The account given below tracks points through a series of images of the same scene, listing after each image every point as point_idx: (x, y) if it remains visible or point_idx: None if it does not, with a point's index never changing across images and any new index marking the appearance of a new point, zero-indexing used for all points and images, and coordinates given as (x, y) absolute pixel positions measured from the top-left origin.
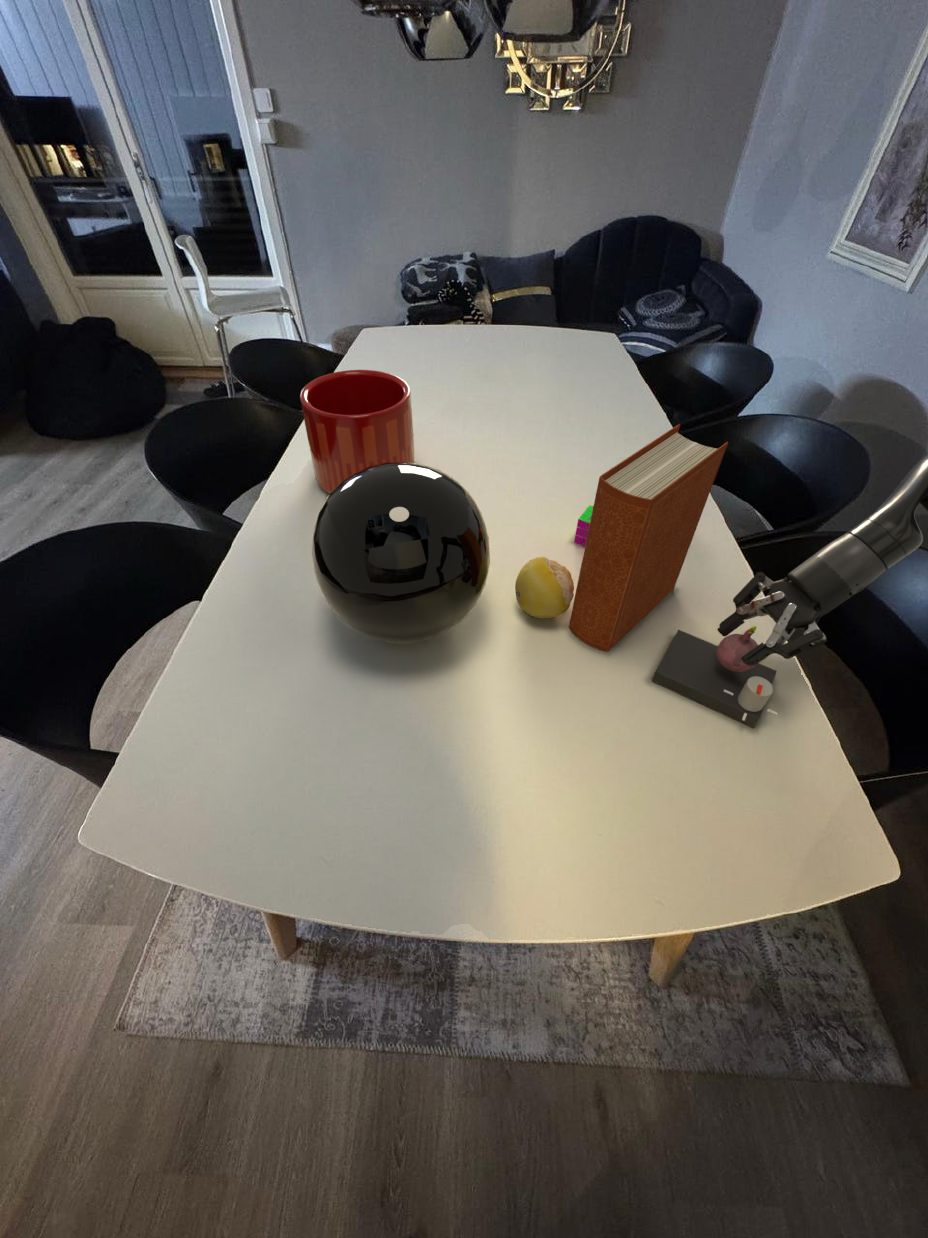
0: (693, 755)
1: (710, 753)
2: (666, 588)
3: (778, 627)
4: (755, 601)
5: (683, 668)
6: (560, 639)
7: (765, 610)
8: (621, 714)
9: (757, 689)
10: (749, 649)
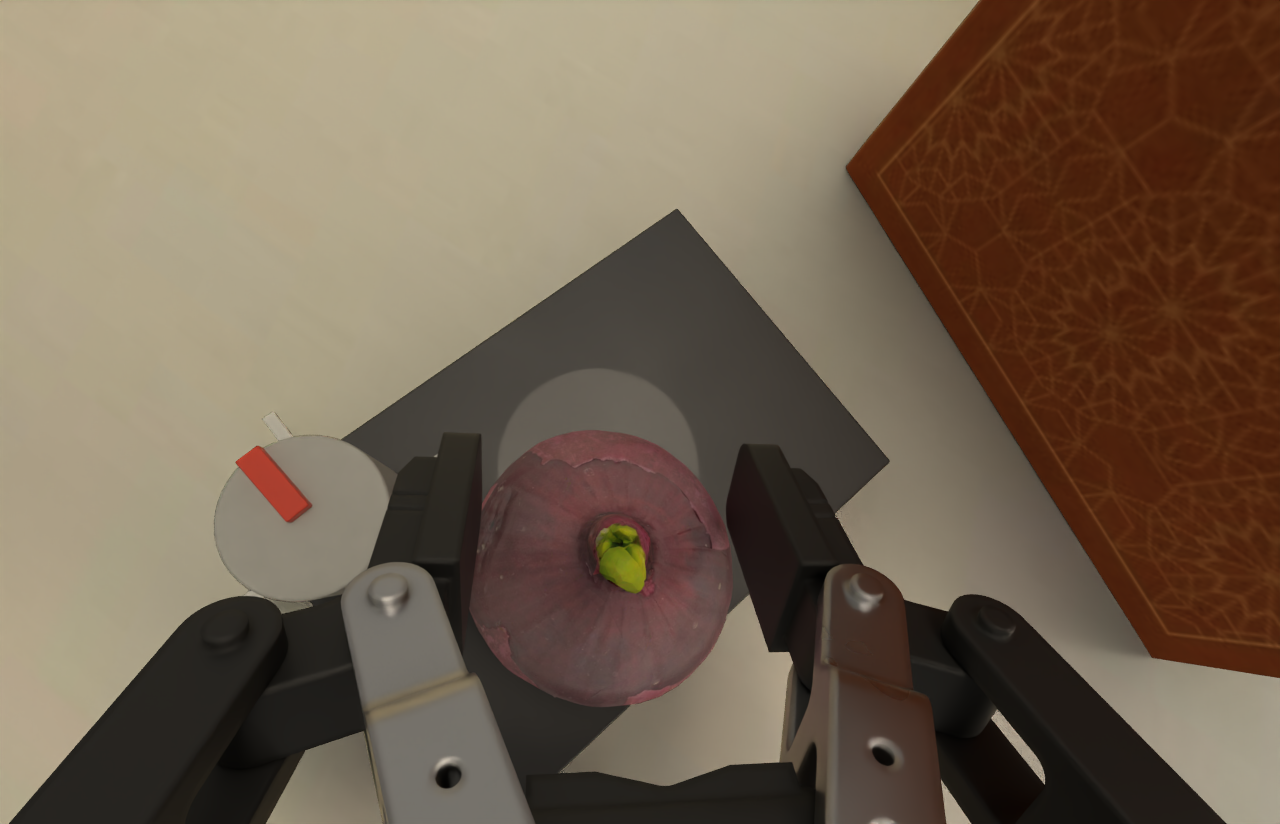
0: (269, 183)
1: (246, 251)
2: (1163, 558)
3: (436, 724)
4: (915, 720)
5: (656, 335)
6: (936, 48)
7: (762, 773)
8: (549, 53)
9: (275, 466)
10: (536, 555)
